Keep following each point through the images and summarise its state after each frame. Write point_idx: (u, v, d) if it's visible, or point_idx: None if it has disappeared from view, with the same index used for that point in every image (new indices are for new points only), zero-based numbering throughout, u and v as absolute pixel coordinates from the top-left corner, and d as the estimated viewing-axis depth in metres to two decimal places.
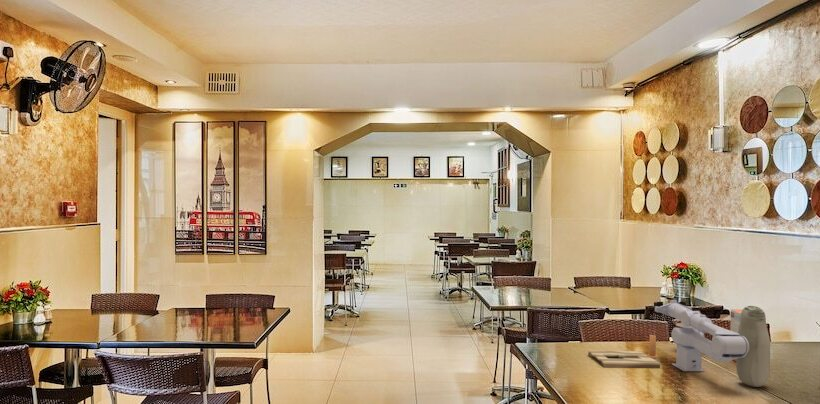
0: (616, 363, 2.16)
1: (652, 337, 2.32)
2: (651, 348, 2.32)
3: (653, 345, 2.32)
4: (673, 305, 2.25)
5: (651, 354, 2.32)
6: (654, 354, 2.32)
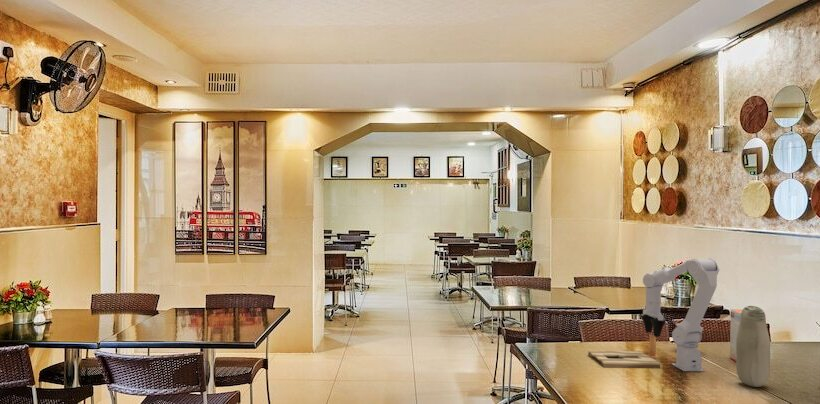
0: (616, 363, 2.16)
1: (652, 337, 2.32)
2: (651, 348, 2.32)
3: (653, 345, 2.32)
4: (649, 306, 2.32)
5: (651, 354, 2.32)
6: (654, 354, 2.32)
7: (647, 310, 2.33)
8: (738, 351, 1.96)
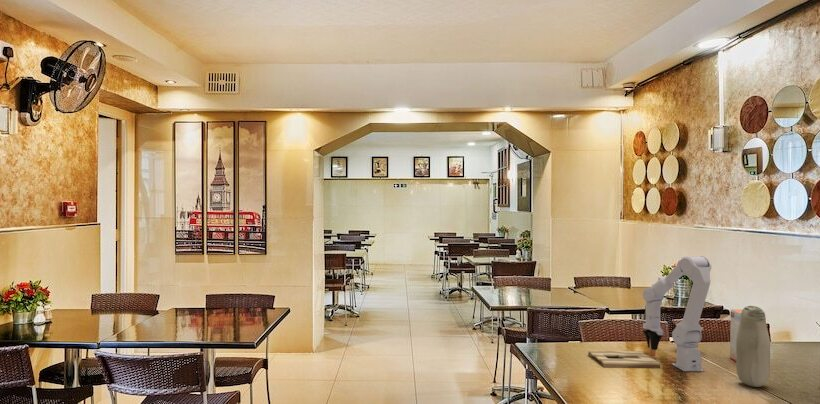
0: (616, 363, 2.16)
1: None
2: None
3: None
4: (649, 321, 2.32)
5: (651, 354, 2.32)
6: (654, 354, 2.32)
7: (647, 324, 2.33)
8: (738, 351, 1.96)
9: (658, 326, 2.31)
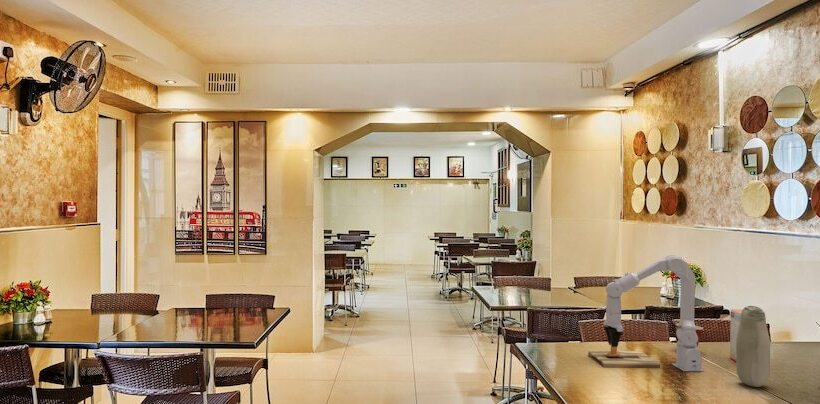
0: (616, 363, 2.16)
1: None
2: None
3: None
4: (609, 317, 2.23)
5: (613, 352, 2.24)
6: (615, 352, 2.24)
7: (607, 320, 2.24)
8: (738, 351, 1.96)
9: (618, 322, 2.23)
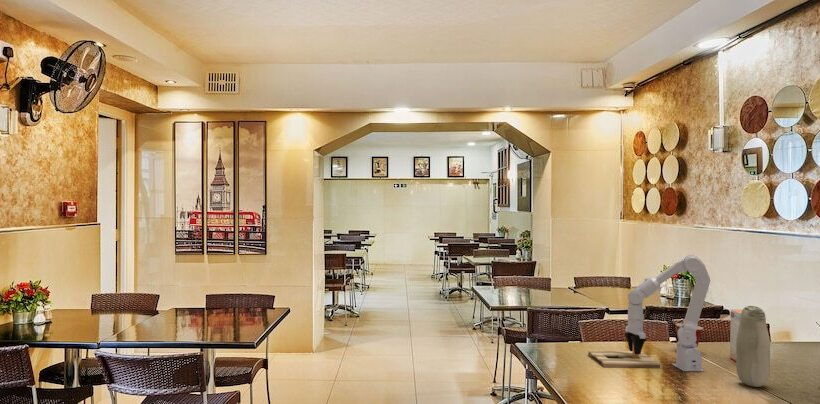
0: (616, 363, 2.16)
1: None
2: (634, 353, 2.24)
3: None
4: (631, 323, 2.23)
5: None
6: None
7: (629, 327, 2.24)
8: (738, 351, 1.96)
9: (640, 329, 2.23)
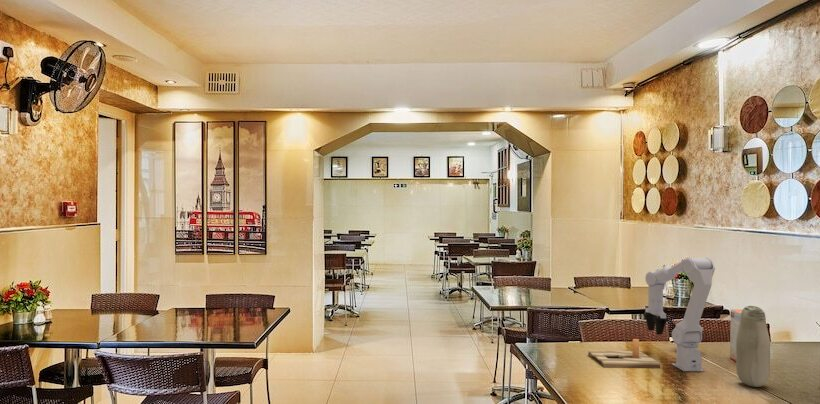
0: (616, 363, 2.16)
1: (636, 341, 2.24)
2: (634, 353, 2.24)
3: (636, 350, 2.24)
4: (652, 304, 2.34)
5: None
6: None
7: (650, 308, 2.35)
8: (738, 351, 1.96)
9: (661, 310, 2.33)
